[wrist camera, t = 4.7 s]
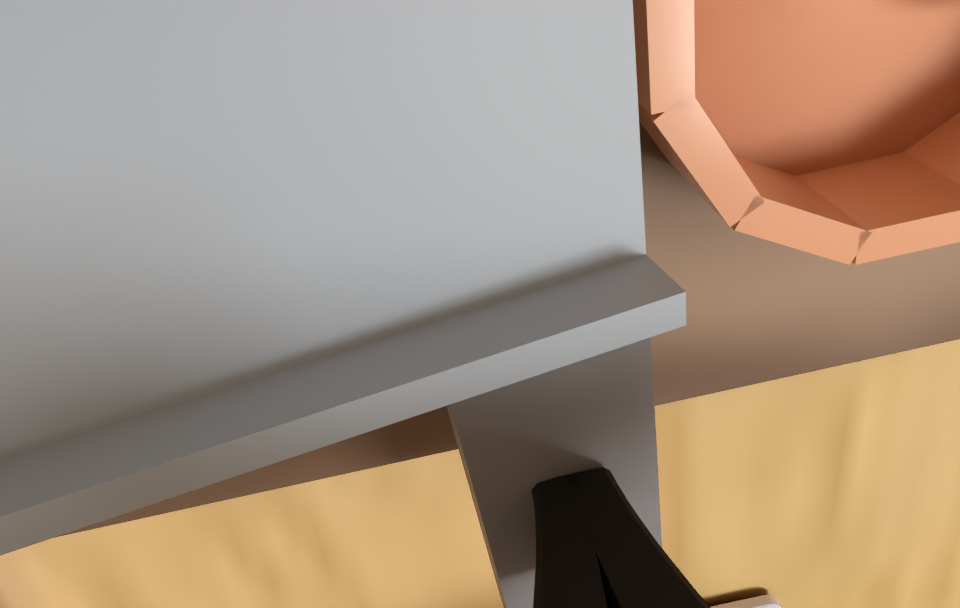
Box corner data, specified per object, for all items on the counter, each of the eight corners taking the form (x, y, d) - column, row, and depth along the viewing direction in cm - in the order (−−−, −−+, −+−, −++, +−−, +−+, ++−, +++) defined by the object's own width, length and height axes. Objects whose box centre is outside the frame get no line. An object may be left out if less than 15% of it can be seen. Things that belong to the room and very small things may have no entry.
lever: (606, 489, 15) (706, 660, 12) (-105, 748, 13) (-226, 1040, 10) (520, -242, 8) (712, -333, 5) (-1064, 87, 6) (-2680, 336, 3)
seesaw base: (1013, 296, 17) (1192, 421, 13) (-22, 523, 17) (-136, 711, 13) (1289, -600, 9) (1935, -923, 5) (-659, -166, 9) (-1390, -180, 5)
